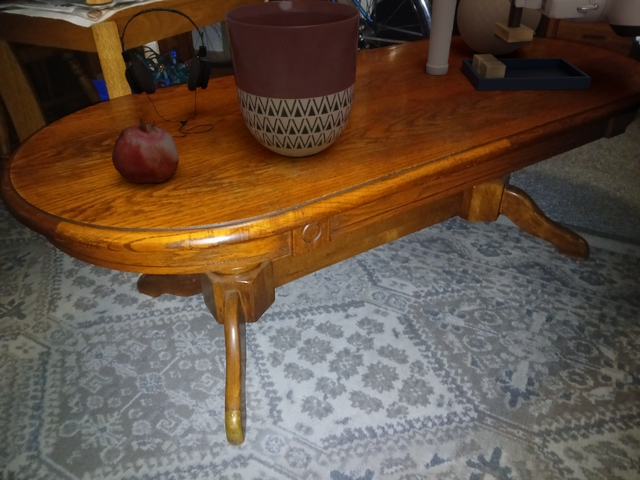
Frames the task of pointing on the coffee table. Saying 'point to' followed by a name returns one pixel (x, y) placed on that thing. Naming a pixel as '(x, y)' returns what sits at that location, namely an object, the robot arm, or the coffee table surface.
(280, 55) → the planter
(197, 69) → the headphones
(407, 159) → the coffee table surface
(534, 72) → the tray
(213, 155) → the coffee table surface
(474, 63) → the crumb
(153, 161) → the fruit
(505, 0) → the decorative sphere
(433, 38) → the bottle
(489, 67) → the beige cube
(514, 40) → the brush
